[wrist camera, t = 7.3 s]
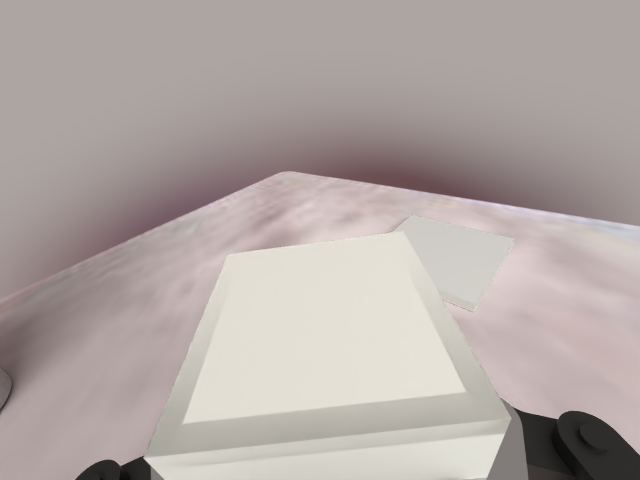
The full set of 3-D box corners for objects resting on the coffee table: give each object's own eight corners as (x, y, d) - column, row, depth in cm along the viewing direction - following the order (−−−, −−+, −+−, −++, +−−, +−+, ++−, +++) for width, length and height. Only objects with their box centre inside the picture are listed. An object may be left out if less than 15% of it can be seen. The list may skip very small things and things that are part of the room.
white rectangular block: (256, 573, 9) (142, 458, 5) (275, 385, 14) (227, 254, 10) (455, 554, 9) (511, 417, 5) (399, 371, 14) (402, 231, 10)
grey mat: (359, 266, 32) (359, 258, 32) (411, 221, 39) (412, 214, 39) (473, 312, 25) (475, 303, 24) (513, 246, 32) (515, 238, 31)
